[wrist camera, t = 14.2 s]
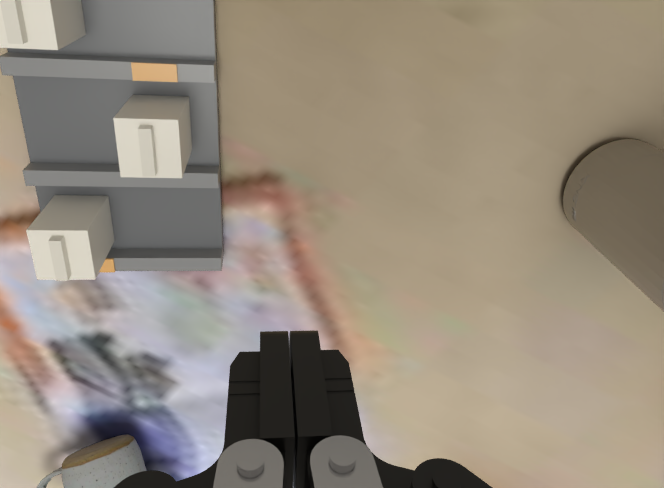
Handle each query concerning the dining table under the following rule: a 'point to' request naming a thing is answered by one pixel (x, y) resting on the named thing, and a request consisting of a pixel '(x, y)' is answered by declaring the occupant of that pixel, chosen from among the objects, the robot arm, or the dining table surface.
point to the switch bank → (99, 133)
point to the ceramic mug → (100, 464)
